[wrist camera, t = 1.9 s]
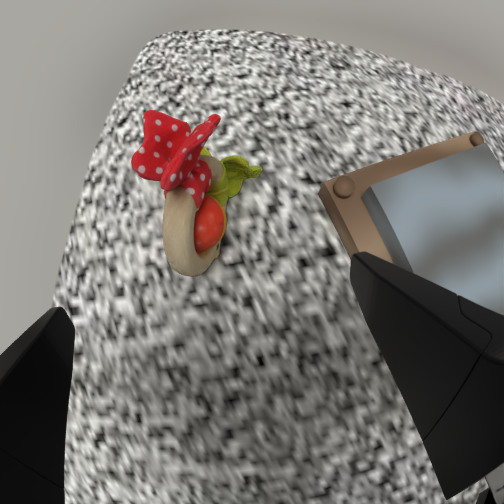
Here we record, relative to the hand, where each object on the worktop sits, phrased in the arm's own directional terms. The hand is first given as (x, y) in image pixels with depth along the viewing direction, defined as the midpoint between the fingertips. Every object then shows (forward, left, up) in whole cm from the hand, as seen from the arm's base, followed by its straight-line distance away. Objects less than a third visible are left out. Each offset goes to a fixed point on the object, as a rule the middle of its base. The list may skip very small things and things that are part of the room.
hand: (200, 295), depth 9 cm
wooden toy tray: (-3, -18, -13) cm, 23 cm away
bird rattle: (+7, -1, -13) cm, 14 cm away
